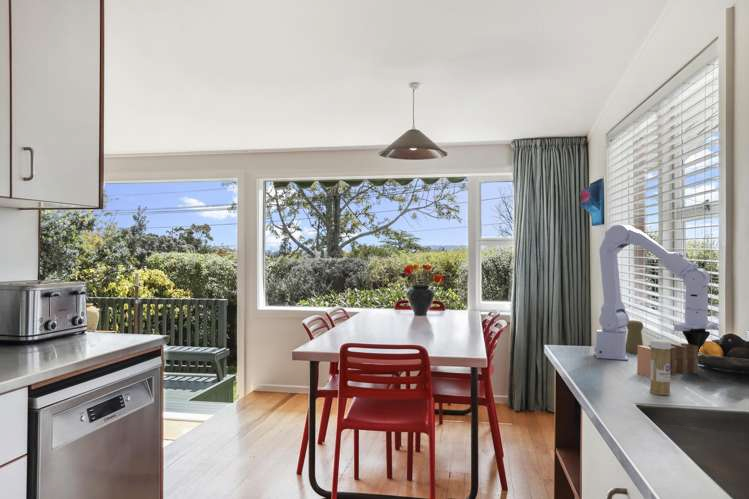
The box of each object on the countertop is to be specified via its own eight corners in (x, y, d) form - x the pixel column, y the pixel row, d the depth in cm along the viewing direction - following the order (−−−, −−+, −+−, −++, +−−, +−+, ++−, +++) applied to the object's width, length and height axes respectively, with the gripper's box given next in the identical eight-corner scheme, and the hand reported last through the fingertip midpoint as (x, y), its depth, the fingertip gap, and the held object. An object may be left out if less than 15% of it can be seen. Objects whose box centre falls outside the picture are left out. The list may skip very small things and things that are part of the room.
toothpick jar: (665, 397, 124) (666, 342, 124) (646, 392, 127) (647, 339, 127) (673, 394, 126) (674, 340, 126) (654, 389, 130) (655, 337, 130)
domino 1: (649, 376, 143) (650, 348, 143) (637, 373, 147) (637, 345, 147) (653, 376, 143) (654, 348, 143) (641, 372, 148) (641, 345, 148)
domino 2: (672, 375, 145) (672, 347, 145) (659, 371, 149) (659, 344, 149) (676, 374, 146) (676, 347, 145) (663, 371, 150) (663, 344, 150)
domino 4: (693, 373, 147) (694, 346, 147) (680, 369, 152) (681, 343, 152) (697, 373, 148) (698, 345, 148) (684, 369, 152) (685, 343, 152)
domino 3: (683, 374, 146) (683, 346, 146) (670, 370, 151) (670, 343, 150) (687, 373, 147) (687, 346, 147) (674, 370, 151) (674, 343, 151)
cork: (647, 354, 173) (648, 322, 173) (629, 353, 173) (630, 321, 173) (638, 350, 179) (639, 319, 179) (621, 350, 179) (622, 319, 179)
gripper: (689, 311, 144) (688, 358, 144) (727, 310, 148) (726, 356, 149) (668, 308, 151) (667, 353, 151) (705, 307, 155) (705, 351, 155)
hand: (695, 354), depth 150 cm, fingers closed
